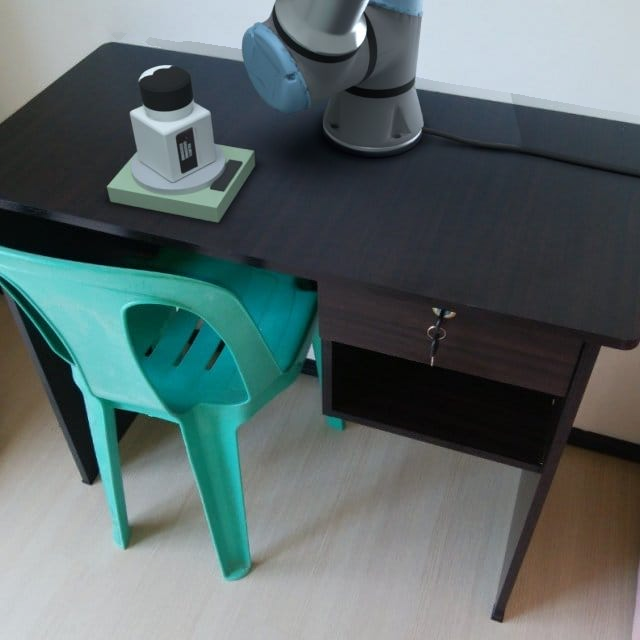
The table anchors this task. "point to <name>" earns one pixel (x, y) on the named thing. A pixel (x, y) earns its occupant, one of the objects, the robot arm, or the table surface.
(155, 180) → the scale
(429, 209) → the table surface
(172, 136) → the container
